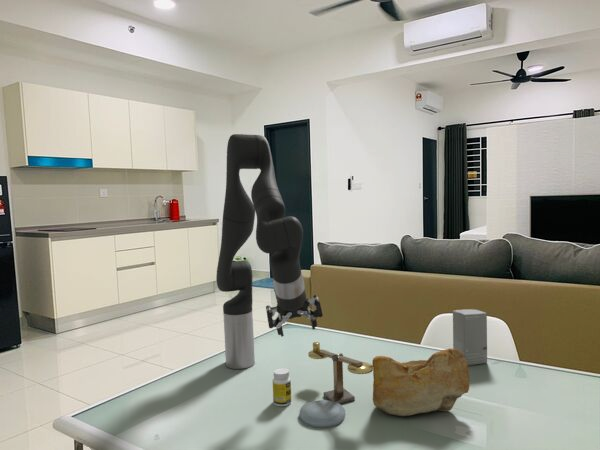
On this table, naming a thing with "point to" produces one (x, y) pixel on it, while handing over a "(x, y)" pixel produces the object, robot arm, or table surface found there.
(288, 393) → the supplement bottle
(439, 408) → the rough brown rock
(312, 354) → the balance
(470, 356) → the skincare box
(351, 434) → the table surface
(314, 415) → the dish
